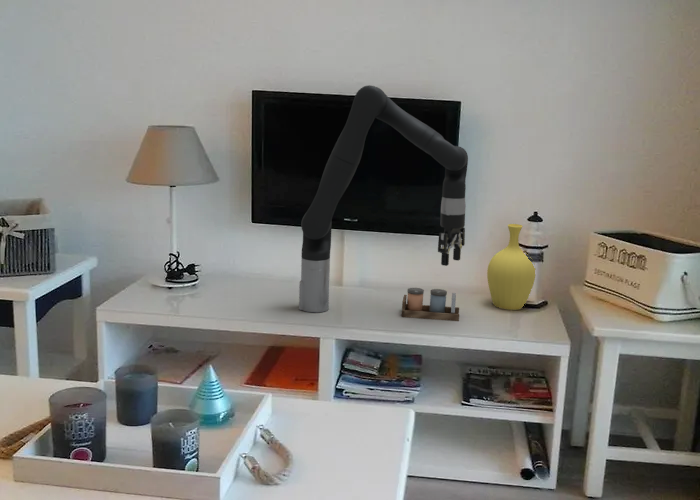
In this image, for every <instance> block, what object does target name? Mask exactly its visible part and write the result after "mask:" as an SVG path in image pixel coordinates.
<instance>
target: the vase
mask: <svg viewBox="0 0 700 500" xmlns="http://www.w3.org/2000/svg"><path fill="white" fill-rule="evenodd" d="M523 227H524V226H523V225H522V224H517V223H509V224H507V228H508V231H509V232H508V233H509V242H508V245H507V246H505V247H504V248H503V249H500V251H498V252H496V253H495V254H494V255H493V256H492V257H491V259H490V260H489V263H488V266H487V273H486V274H487V275H486V276H487V284H488V289H489V293H490V297H491V300H492V304H493V306H495V307H496V308H498V307H499V308H498V309H502V310H510V311H511V310H512V311H515V310H516V311H517V310H522V309H523V308H522V307H523V306H524V304H525V303H527V302H528V300H527V299H529V297H530V295H531V292H532V290H531V289H533V286H534V282H535V280H536V274H535V270H536V267H535V268H534V266H533V264H532V262H531V261H530V260H529V259H528V257H527V256H526V255H525V254H524V253H523V251H524V250H523V249H522V248H520V244H519V243H520V242H519V236H520V233H521V231H522V228H523ZM522 250H523V251H522ZM529 294H530V295H529ZM526 301H527V302H526ZM525 305H526V304H525ZM524 307H525V306H524ZM521 308H522V309H521Z"/></svg>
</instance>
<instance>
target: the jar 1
mask: <svg viewBox="0 0 700 500" xmlns="http://www.w3.org/2000/svg"><path fill="white" fill-rule="evenodd" d="M424 292H425V290H424V289H423V288H420V287H408V288H407V292H406V293H407V298H406V304H407V310H409V311H422V309H423V305H424Z"/></svg>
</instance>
